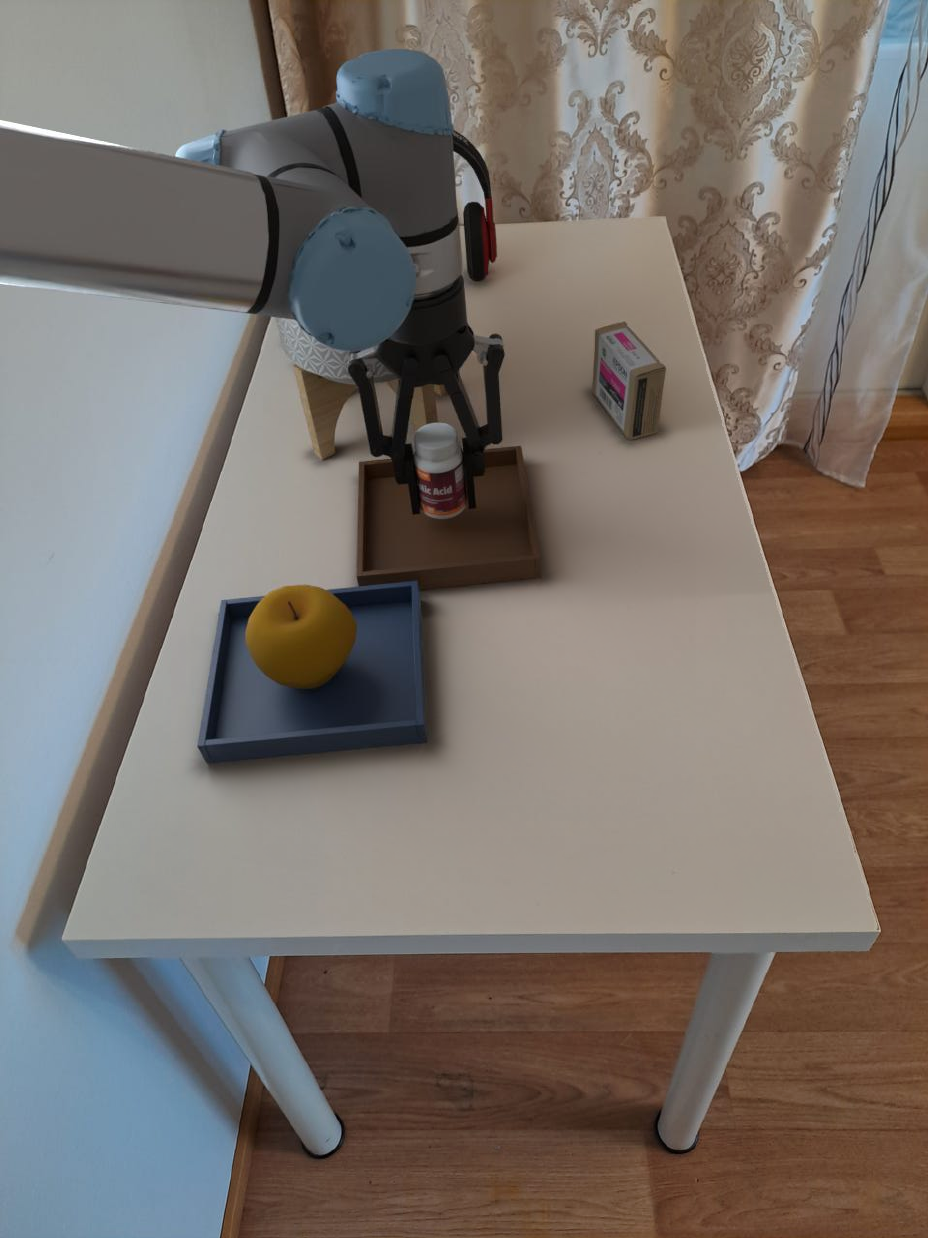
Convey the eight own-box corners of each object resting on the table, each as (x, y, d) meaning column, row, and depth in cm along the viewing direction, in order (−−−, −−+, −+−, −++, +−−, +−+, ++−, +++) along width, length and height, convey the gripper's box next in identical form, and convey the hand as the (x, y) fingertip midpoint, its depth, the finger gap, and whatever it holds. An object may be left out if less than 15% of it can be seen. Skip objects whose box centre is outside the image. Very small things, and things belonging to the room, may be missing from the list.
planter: (501, 420, 103) (488, 186, 83) (367, 496, 95) (319, 259, 76) (402, 357, 113) (370, 136, 94) (274, 422, 106) (211, 196, 87)
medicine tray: (360, 595, 86) (356, 576, 84) (362, 480, 97) (358, 461, 95) (541, 577, 86) (541, 558, 84) (521, 464, 97) (521, 445, 95)
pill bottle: (413, 516, 88) (402, 447, 82) (429, 486, 91) (419, 416, 85) (459, 524, 87) (452, 454, 81) (474, 492, 90) (467, 422, 84)
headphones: (370, 303, 123) (345, 148, 108) (373, 268, 129) (349, 117, 115) (499, 293, 122) (491, 135, 107) (495, 258, 129) (488, 105, 114)
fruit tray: (206, 764, 74) (197, 746, 72) (228, 618, 85) (220, 599, 83) (427, 743, 74) (423, 724, 72) (420, 599, 85) (417, 580, 83)
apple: (378, 641, 81) (362, 570, 74) (344, 722, 75) (324, 652, 69) (284, 627, 83) (261, 557, 76) (245, 705, 77) (216, 636, 70)
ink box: (590, 393, 105) (592, 327, 99) (620, 385, 106) (625, 319, 99) (628, 442, 98) (633, 375, 92) (660, 433, 99) (667, 366, 93)
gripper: (302, 314, 69) (353, 537, 87) (533, 290, 69) (538, 518, 86) (307, 267, 74) (354, 487, 92) (523, 244, 74) (529, 469, 92)
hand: (443, 502), depth 89 cm, fingers closed on pill bottle, 5 cm apart
